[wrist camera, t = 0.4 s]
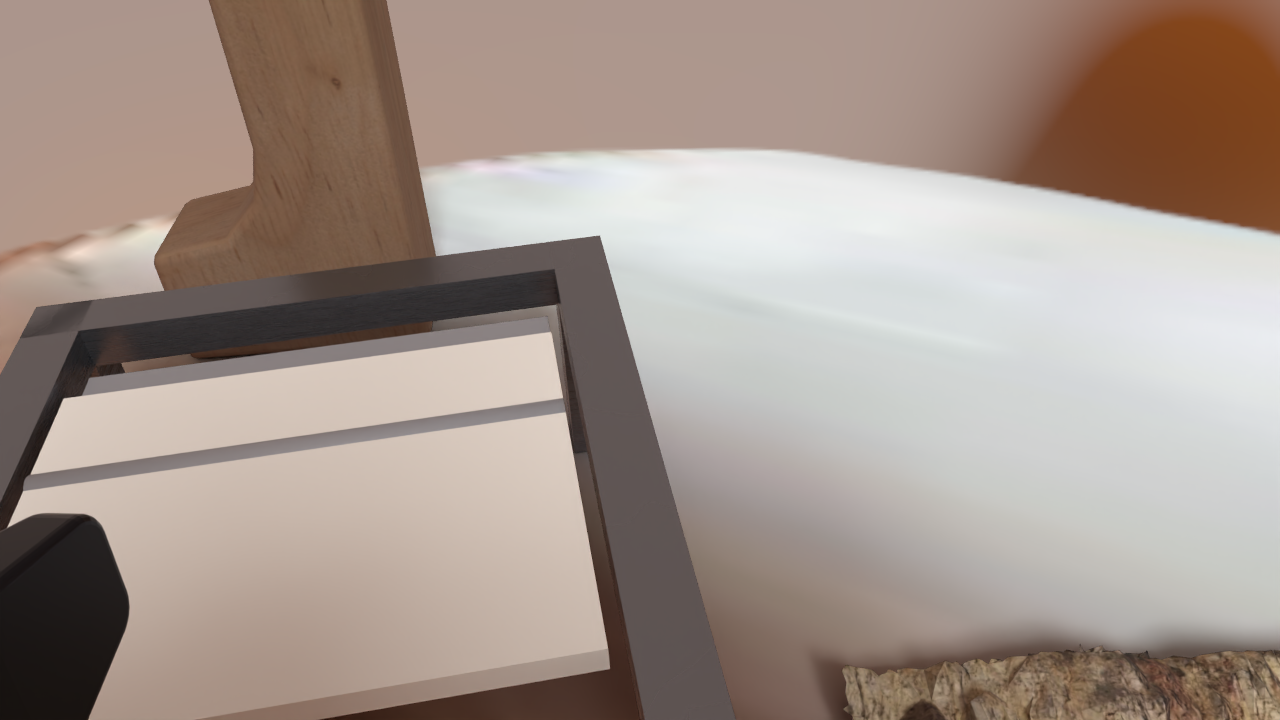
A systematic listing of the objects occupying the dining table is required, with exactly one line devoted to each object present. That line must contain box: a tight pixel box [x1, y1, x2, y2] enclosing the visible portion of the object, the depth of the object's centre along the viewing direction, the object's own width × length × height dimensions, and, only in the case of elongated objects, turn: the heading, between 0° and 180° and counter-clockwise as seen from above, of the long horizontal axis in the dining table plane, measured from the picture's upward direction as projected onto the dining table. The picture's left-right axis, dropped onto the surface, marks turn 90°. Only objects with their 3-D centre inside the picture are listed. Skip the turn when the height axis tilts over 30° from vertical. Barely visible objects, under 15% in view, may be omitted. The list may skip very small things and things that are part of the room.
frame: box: [0, 236, 736, 720], centre depth 24 cm, size 18×16×7 cm
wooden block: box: [154, 0, 436, 358], centre depth 34 cm, size 9×4×18 cm, turn 94°
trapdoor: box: [7, 316, 610, 720], centre depth 23 cm, size 12×12×3 cm
